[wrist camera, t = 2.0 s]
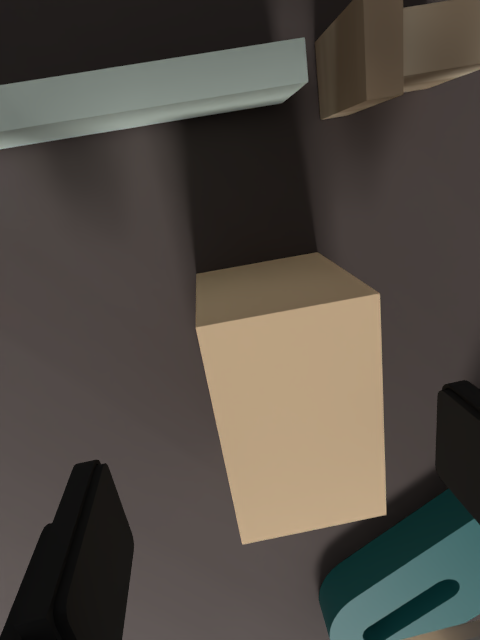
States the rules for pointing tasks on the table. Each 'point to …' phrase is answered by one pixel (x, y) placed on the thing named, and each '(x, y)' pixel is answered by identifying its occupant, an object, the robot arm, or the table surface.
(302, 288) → the block
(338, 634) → the bracket
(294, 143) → the table surface
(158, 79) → the sage gate
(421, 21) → the oak fence
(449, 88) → the table surface
